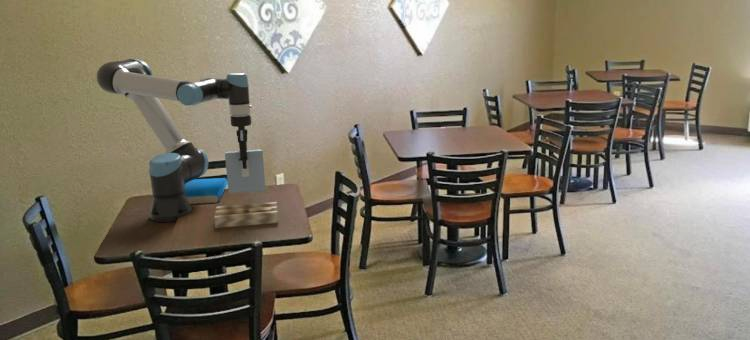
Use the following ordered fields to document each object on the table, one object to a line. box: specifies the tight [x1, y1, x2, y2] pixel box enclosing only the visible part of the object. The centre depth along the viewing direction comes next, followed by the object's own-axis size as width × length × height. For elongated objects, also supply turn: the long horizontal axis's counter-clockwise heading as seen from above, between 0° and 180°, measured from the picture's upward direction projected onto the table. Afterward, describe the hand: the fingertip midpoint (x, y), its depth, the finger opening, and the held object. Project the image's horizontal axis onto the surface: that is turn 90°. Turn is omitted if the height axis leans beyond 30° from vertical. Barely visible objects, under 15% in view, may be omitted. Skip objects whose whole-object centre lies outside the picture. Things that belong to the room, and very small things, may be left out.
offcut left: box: [217, 208, 244, 216], centre depth 216 cm, size 9×2×5 cm, turn 100°
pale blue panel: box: [224, 149, 266, 195], centre depth 231 cm, size 14×2×16 cm, turn 100°
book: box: [184, 177, 228, 205], centre depth 257 cm, size 17×4×25 cm
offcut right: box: [249, 207, 272, 213], centre depth 218 cm, size 8×2×4 cm, turn 101°
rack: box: [213, 201, 279, 229], centre depth 220 cm, size 22×12×6 cm, turn 101°
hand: (245, 175), depth 231 cm, fingers closed on pale blue panel, 2 cm apart
